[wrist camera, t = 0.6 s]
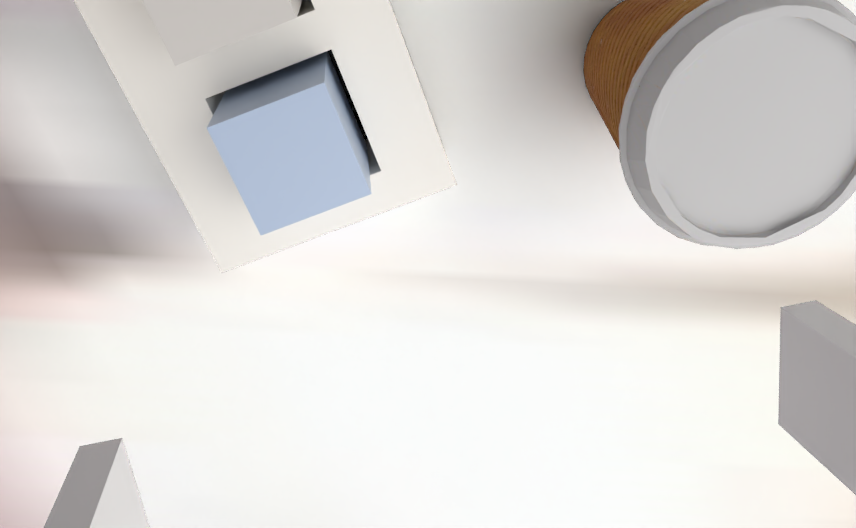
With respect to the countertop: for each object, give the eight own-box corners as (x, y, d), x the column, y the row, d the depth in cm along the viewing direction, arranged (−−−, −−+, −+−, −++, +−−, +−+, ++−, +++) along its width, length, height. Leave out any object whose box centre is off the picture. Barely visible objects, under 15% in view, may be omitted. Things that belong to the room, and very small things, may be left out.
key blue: (326, 49, 35) (324, 82, 29) (367, 146, 37) (371, 194, 31) (227, 88, 35) (206, 127, 29) (272, 182, 37) (261, 235, 31)
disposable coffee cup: (538, 154, 40) (611, 259, 29) (563, -53, 36) (659, -19, 25) (722, 159, 41) (858, 262, 30) (768, -41, 37) (943, -4, 26)
